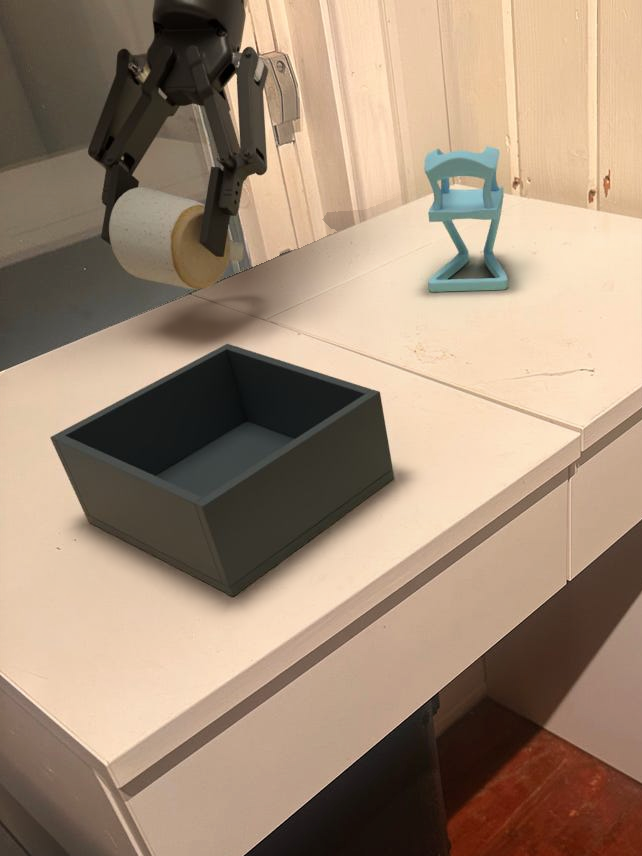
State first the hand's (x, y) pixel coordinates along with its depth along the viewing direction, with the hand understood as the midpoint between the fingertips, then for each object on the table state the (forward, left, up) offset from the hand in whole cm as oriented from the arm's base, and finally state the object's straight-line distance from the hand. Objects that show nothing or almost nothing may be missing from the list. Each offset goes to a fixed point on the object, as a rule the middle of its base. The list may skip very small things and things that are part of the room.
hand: (162, 247), depth 80 cm
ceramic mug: (-1, +3, -4) cm, 5 cm away
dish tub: (+25, -16, -8) cm, 31 cm away
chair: (+15, +24, -9) cm, 30 cm away
